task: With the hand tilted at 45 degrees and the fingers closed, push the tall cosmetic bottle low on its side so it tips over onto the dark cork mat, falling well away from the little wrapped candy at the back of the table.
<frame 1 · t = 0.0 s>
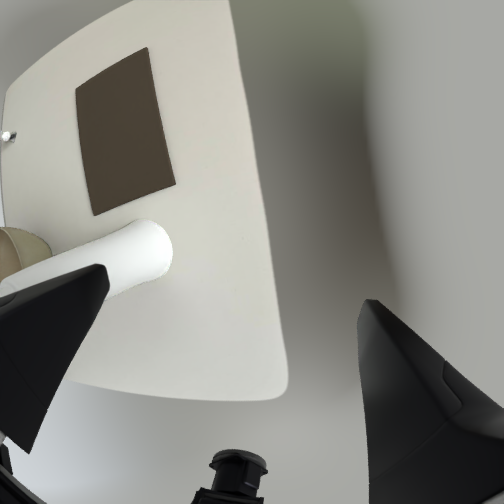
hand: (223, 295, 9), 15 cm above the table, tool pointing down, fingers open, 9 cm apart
wrapped candy: (14, 137, 25), on the table
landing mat: (116, 127, 23), on the table
cosmetic bottle: (146, 249, 26), on the table
bowl: (43, 257, 28), on the table
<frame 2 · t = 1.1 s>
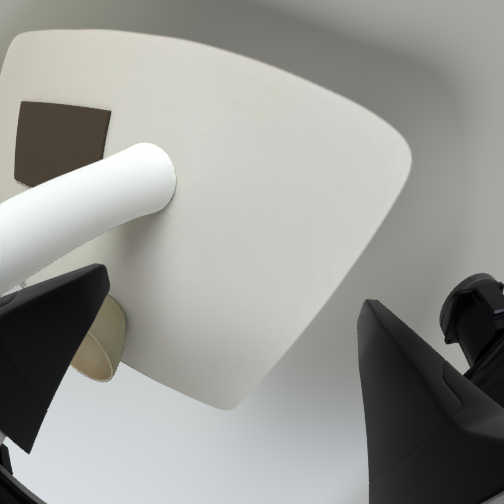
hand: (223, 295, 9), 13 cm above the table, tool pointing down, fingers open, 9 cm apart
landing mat: (51, 149, 21), on the table
cosmetic bottle: (146, 177, 21), on the table
bowl: (109, 309, 29), on the table
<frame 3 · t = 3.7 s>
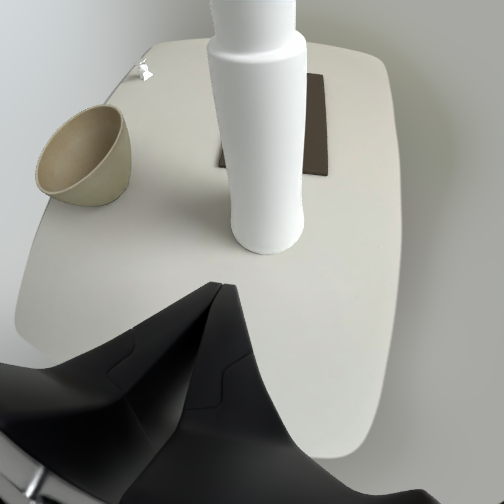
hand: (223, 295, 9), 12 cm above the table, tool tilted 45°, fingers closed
wrapped candy: (146, 77, 32), on the table
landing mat: (279, 112, 27), on the table
cosmetic bottle: (267, 221, 23), on the table
bowl: (110, 184, 26), on the table
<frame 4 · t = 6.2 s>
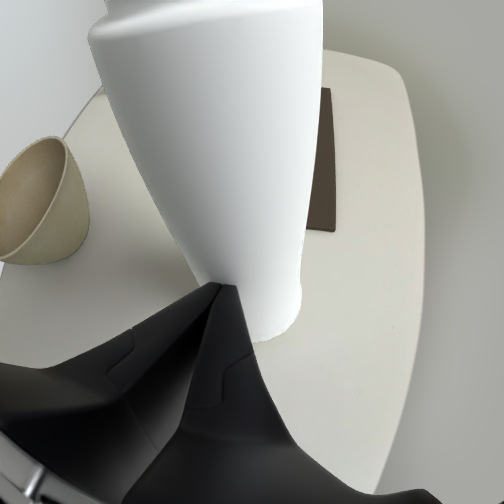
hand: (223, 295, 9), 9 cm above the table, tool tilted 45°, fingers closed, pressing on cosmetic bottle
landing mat: (274, 139, 22), on the table
cosmetic bottle: (253, 296, 17), on the table, touching gripper
bowl: (70, 231, 20), on the table
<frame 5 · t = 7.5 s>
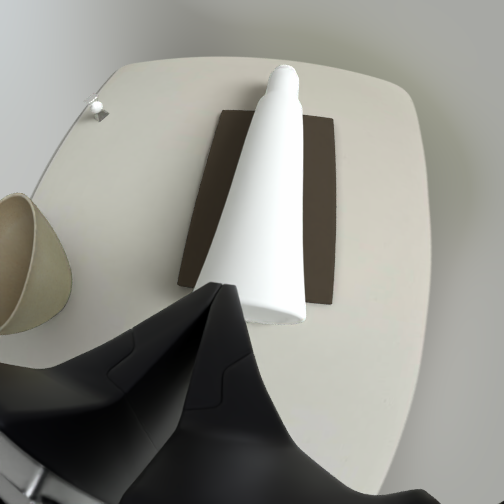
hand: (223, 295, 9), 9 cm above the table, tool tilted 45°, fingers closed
wrapped candy: (102, 117, 25), on the table
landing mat: (267, 187, 20), on the table
cosmetic bottle: (246, 318, 14), point 3 cm above the table, touching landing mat
bowl: (54, 286, 19), on the table
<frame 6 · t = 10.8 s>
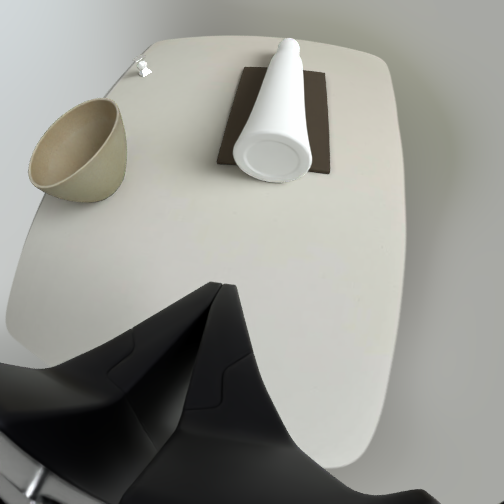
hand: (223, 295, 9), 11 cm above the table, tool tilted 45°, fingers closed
wrapped candy: (145, 74, 31), on the table
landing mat: (280, 109, 26), on the table
cosmetic bottle: (271, 162, 20), point 3 cm above the table, touching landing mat
bowl: (105, 181, 25), on the table
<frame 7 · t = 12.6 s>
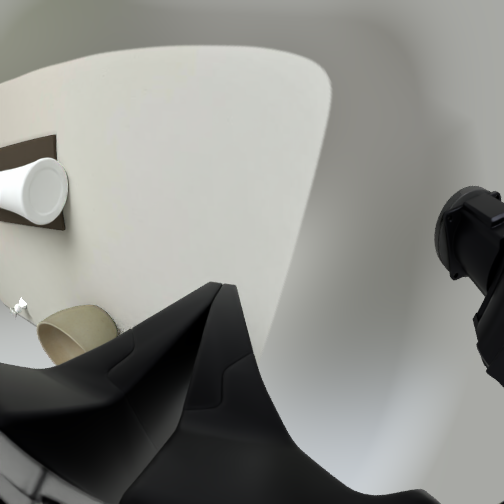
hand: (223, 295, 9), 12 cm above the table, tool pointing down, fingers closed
wrapped candy: (24, 302, 32), on the table
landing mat: (20, 184, 22), on the table
cosmetic bottle: (47, 191, 19), point 3 cm above the table, touching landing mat
bowl: (100, 320, 29), on the table
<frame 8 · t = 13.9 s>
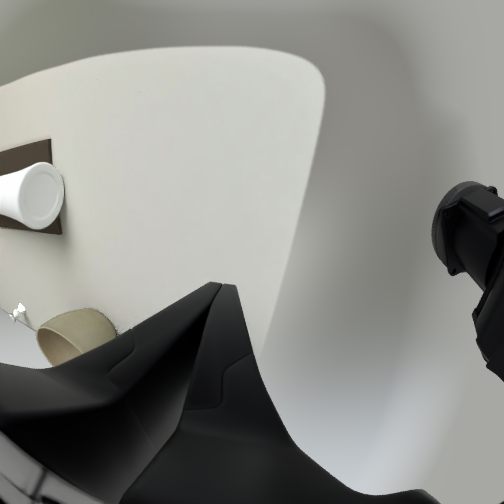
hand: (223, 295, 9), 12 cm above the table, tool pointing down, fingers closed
wrapped candy: (23, 307, 32), on the table
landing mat: (16, 189, 22), on the table
cosmetic bottle: (43, 195, 18), point 3 cm above the table, touching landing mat
bowl: (99, 323, 29), on the table
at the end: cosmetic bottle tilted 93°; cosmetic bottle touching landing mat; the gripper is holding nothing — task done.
